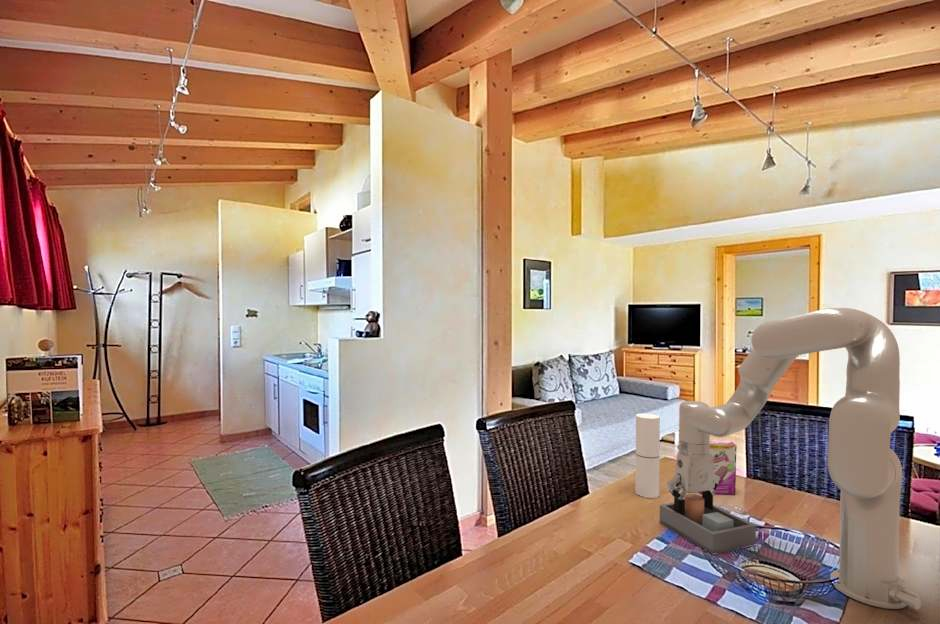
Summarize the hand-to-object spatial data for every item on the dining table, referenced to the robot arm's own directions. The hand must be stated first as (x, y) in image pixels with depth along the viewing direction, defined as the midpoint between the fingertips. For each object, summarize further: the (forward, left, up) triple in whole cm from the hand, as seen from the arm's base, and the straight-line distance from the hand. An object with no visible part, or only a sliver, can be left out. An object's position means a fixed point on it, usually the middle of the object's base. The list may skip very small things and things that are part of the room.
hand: (693, 510), depth 128 cm
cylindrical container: (+23, -4, -5) cm, 24 cm away
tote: (-4, 0, -5) cm, 6 cm away
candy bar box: (+17, -26, -5) cm, 31 cm away
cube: (-8, 0, -4) cm, 9 cm away
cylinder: (0, 0, -4) cm, 4 cm away
